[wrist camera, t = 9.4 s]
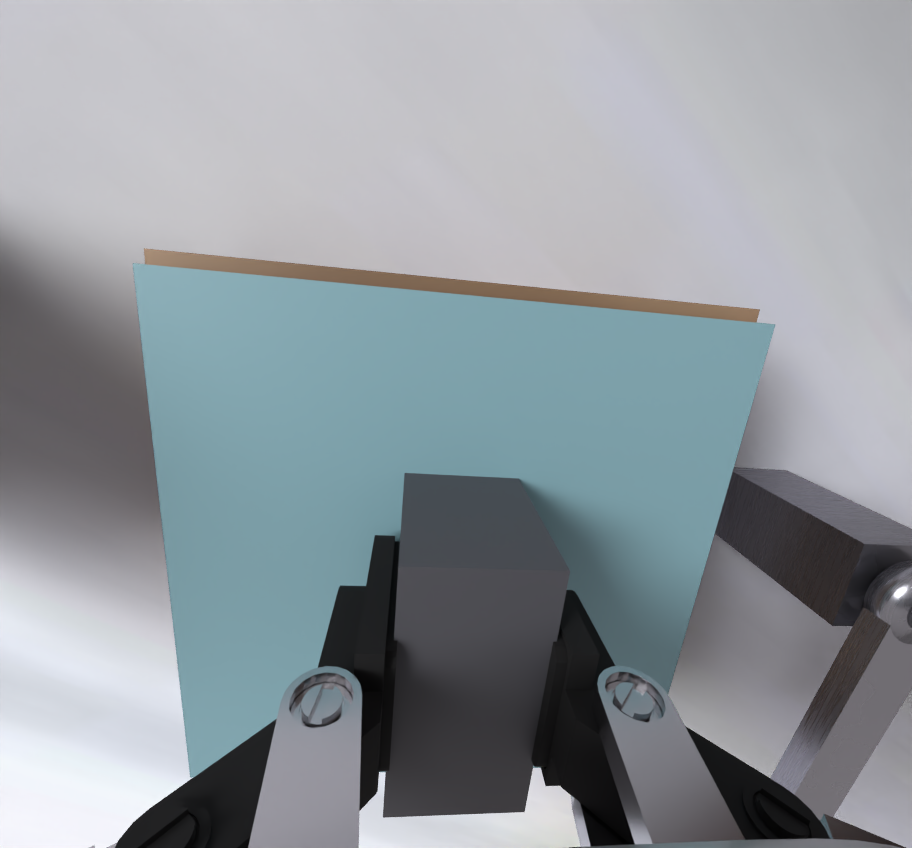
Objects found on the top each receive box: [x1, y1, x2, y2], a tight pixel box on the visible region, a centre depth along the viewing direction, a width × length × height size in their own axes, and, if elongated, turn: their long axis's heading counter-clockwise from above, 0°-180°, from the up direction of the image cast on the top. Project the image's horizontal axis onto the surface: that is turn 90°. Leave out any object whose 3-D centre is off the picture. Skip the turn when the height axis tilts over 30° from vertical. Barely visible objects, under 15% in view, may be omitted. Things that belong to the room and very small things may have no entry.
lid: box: [133, 263, 775, 817], centre depth 11 cm, size 15×15×5 cm
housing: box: [144, 249, 760, 323], centre depth 16 cm, size 16×16×5 cm
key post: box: [715, 468, 912, 626], centre depth 17 cm, size 3×3×6 cm
